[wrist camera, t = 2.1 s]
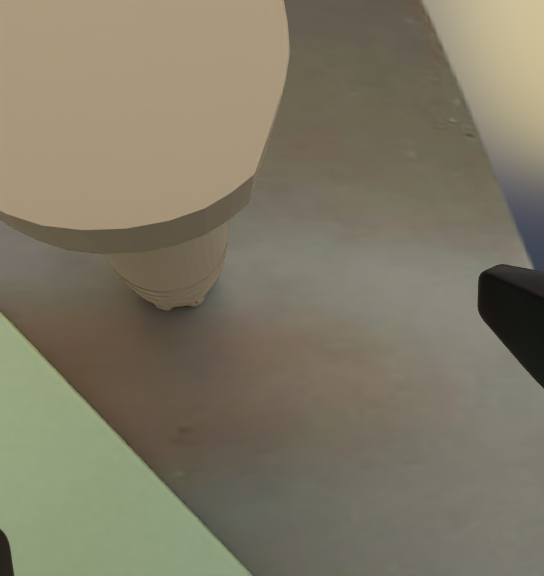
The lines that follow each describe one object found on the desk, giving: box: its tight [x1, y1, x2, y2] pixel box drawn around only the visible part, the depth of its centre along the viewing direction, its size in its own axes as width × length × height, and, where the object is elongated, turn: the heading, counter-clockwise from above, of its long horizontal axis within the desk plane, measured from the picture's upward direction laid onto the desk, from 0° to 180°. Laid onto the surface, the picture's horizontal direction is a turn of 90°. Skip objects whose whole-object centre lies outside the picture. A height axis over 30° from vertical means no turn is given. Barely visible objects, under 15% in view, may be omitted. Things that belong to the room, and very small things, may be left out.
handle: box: [0, 0, 290, 311], centre depth 14 cm, size 5×6×15 cm
